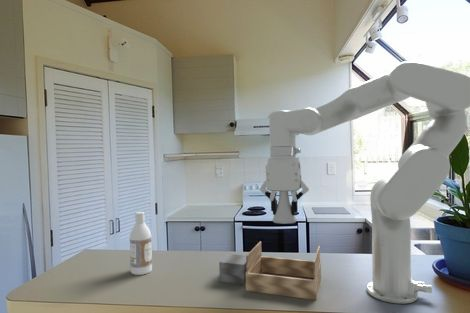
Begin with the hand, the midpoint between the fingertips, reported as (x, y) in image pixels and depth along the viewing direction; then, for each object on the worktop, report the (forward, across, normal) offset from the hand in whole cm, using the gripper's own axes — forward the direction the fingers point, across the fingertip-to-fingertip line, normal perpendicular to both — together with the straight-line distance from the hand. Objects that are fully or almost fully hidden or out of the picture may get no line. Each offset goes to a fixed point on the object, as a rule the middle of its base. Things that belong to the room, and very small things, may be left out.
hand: (284, 213), depth 96 cm
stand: (+21, +16, 0) cm, 26 cm away
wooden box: (+21, 0, 0) cm, 21 cm away
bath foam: (+21, +48, +4) cm, 53 cm away
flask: (+3, 0, 0) cm, 3 cm away
